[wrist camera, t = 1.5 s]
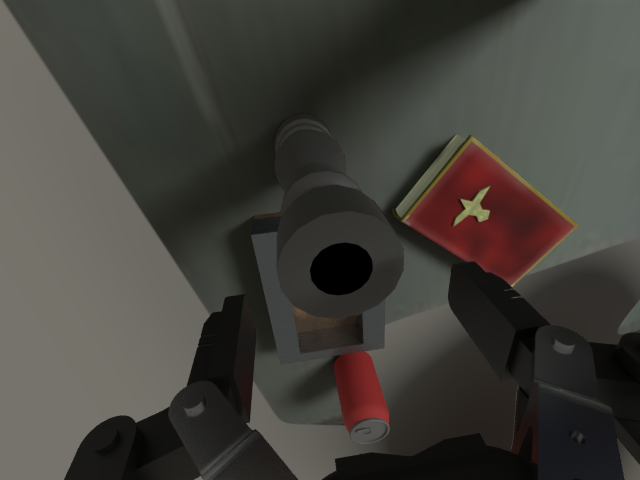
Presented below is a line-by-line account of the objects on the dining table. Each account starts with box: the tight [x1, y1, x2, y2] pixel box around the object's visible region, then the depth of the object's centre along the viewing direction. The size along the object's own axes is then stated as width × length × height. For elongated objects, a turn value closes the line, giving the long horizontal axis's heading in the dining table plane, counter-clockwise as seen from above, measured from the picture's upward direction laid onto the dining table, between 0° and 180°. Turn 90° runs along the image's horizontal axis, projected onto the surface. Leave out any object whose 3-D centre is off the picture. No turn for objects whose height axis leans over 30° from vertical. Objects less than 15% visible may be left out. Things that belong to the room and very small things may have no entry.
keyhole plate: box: [251, 200, 386, 364], centre depth 43 cm, size 15×21×5 cm
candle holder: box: [274, 113, 404, 319], centre depth 25 cm, size 6×6×25 cm
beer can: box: [334, 351, 390, 444], centre depth 49 cm, size 7×7×12 cm
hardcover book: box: [392, 135, 579, 287], centre depth 41 cm, size 12×21×4 cm, turn 56°
